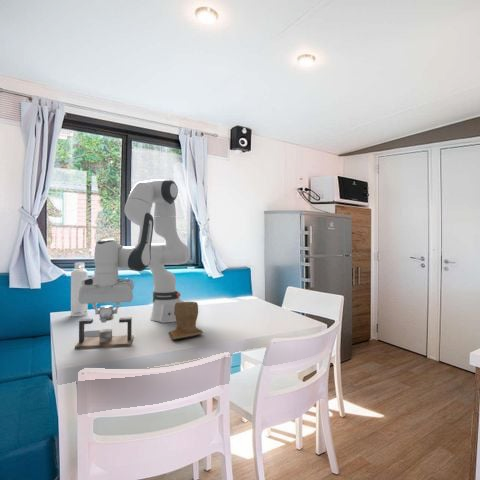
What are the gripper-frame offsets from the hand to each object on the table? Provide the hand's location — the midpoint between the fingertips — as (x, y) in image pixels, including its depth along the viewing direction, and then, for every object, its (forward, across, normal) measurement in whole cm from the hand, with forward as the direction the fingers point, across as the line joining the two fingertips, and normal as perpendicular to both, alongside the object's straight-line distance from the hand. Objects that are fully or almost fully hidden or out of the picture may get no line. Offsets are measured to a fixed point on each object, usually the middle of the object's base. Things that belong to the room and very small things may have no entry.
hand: (106, 313), depth 132 cm
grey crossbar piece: (+2, 0, 0) cm, 2 cm away
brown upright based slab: (+12, -31, -3) cm, 33 cm away
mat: (+12, +7, -11) cm, 18 cm away
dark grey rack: (+12, 0, +1) cm, 12 cm away
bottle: (+13, +23, -50) cm, 57 cm away
